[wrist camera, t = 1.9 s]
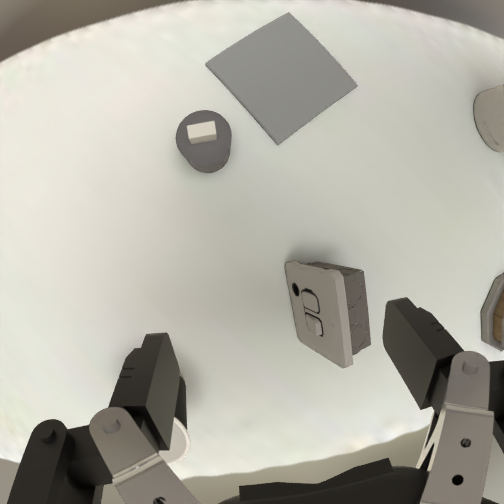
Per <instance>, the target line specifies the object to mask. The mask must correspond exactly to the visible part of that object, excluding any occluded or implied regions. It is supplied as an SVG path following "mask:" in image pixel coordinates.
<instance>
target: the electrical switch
mask: <svg viewBox="0 0 504 504" xmlns="http://www.w3.org/2000/svg"><path fill="white" fill-rule="evenodd" d="M321 268H322V269H321ZM285 270H286V275H287V281H288V286H289V291H290V297H291V302H292V307H293V313H294V318H295V324H296V329H297V335H298V338H299V340H300V342H302V343H303V344H305V345H306V346H308V347H310V348H311V349H313V350H314V351H316V352H317V353H319V354H321V355H322V356H324V357H325V358H327V359H329V360H330V361H332V362H333V363H335V364H337V365H338V366H340V367H342V368H346V367H348V366H350V365H352V364H353V358H352V355H354V354H357V353H358V352H359V351H360V350H362V349H364V348H366V347H368V346H370V345H371V340H370V328H369V316H368V306H367V297H366V288H365V279H364V271H362V270H359V269H354V268H349V267H344V266H339V265H334V264H329V263H323V262H315V263H312V264H310V263H309V264H306V265H304V264H299V263H298V262H297V261H291V262H288V263H286V265H285ZM359 271H361V272H359ZM357 272H358V273H357ZM360 283H361V284H360ZM348 303H349V304H348ZM354 305H355V306H354ZM348 309H349V311H348ZM356 323H357V324H356ZM352 330H353V331H352ZM351 332H352V333H351ZM366 332H367V333H366ZM350 334H351V335H350Z"/></svg>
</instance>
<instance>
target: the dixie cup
mask: <svg viewBox="0 0 504 504" xmlns="http://www.w3.org/2000/svg"><path fill="white" fill-rule="evenodd" d="M189 449H190V437H189V434H188V432H187V414H186V386H185V382H184V380H183V377H182V375H181V374H180V382H179V388H178V395H177V401H176V408H175V415H174V422H173V429H172V436H171V444H170V451H159V453H158V455H160V456H161V457H162V458H163V460H164V461H165V462H166V463H167V465H168V466H169V465H173V464H175V463H178V462H179V461H181V460H182V459H183V458H184V457H185V456H186V455H187V454H188V452H189Z"/></svg>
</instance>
